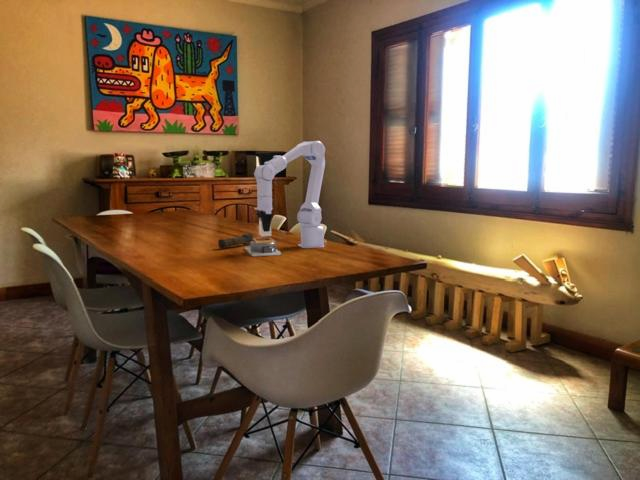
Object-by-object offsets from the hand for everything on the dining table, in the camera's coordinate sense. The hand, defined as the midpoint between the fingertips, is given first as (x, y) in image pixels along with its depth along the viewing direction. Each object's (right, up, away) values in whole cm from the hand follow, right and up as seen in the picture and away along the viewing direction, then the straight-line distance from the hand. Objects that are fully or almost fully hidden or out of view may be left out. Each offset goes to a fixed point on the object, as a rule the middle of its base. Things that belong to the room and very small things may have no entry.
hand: (265, 230), depth 203 cm
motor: (-1, -8, +1) cm, 8 cm away
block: (0, -2, 0) cm, 2 cm away
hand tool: (-17, -10, +10) cm, 22 cm away
